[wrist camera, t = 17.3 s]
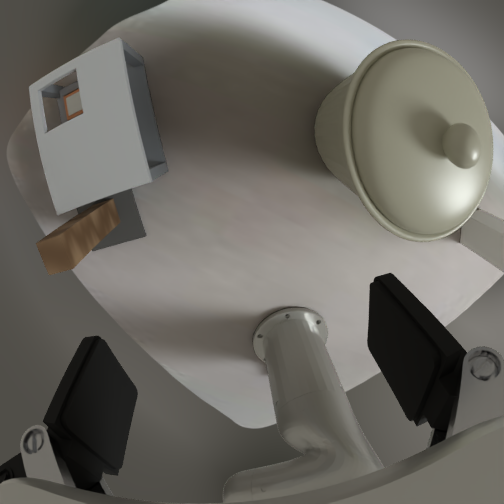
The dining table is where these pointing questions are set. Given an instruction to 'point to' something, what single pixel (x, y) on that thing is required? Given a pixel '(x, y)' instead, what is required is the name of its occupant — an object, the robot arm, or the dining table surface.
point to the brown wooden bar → (77, 237)
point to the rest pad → (121, 220)
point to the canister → (409, 139)
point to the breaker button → (73, 104)
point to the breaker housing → (99, 128)
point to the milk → (485, 237)
